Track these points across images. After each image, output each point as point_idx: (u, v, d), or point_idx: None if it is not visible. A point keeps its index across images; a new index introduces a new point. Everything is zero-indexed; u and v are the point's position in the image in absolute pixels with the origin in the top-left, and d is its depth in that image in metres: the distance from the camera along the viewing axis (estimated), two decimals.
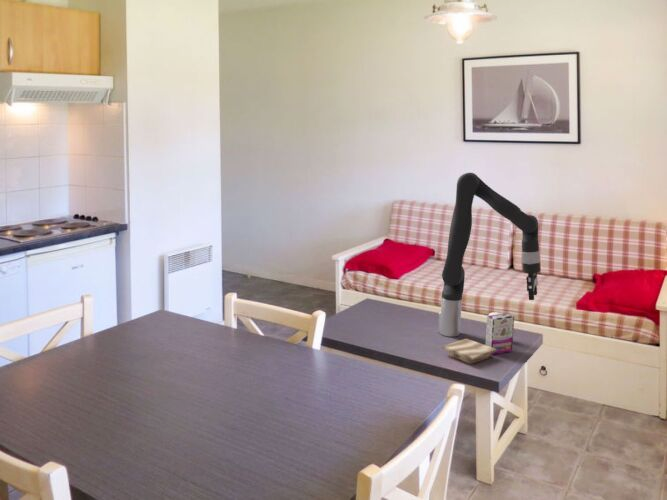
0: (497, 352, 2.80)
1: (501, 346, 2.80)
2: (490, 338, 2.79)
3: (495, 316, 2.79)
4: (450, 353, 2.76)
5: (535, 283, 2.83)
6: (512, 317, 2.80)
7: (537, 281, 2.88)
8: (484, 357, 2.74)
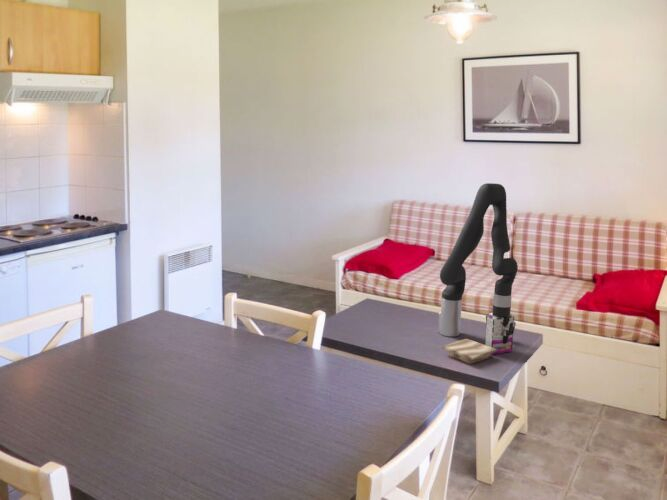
0: (497, 352, 2.80)
1: (501, 346, 2.80)
2: (490, 338, 2.79)
3: (495, 316, 2.79)
4: (450, 353, 2.76)
5: None
6: (512, 317, 2.80)
7: (503, 329, 2.78)
8: (484, 357, 2.74)
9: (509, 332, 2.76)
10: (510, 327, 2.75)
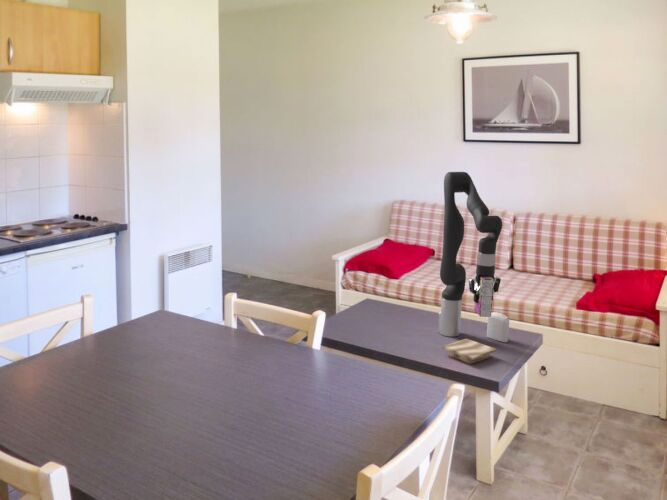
0: None
1: None
2: (489, 300, 2.68)
3: (486, 277, 2.69)
4: (450, 353, 2.76)
5: None
6: None
7: None
8: (484, 357, 2.74)
9: (497, 288, 2.73)
10: (498, 283, 2.73)
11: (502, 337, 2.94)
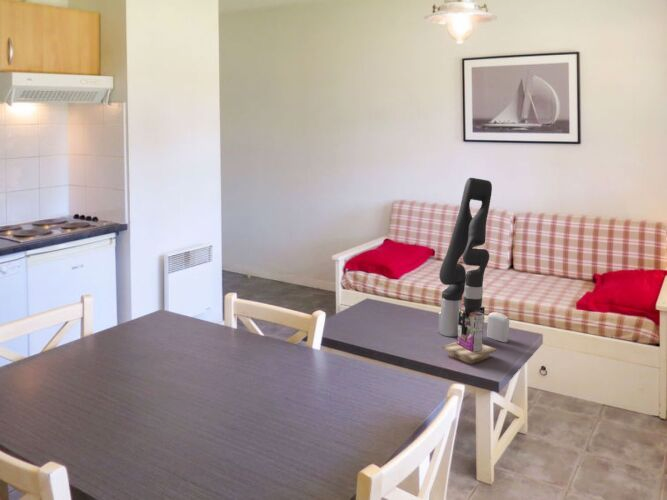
0: None
1: None
2: (480, 335, 2.70)
3: (475, 312, 2.70)
4: (450, 353, 2.76)
5: None
6: None
7: None
8: (484, 357, 2.74)
9: None
10: (483, 311, 2.76)
11: (502, 337, 2.94)
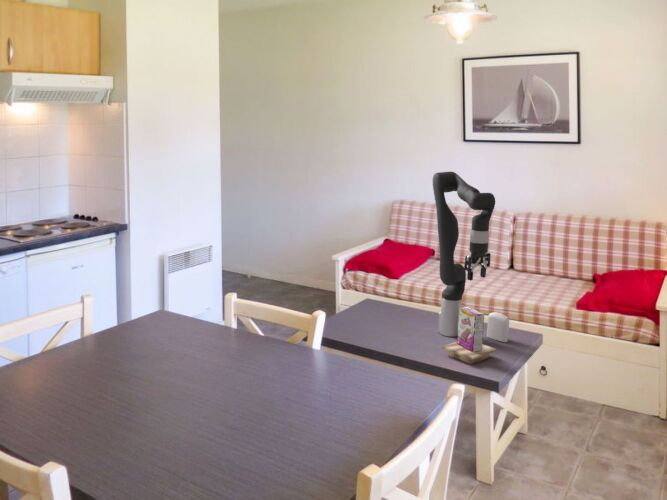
0: None
1: None
2: (480, 335, 2.70)
3: (475, 312, 2.70)
4: (450, 353, 2.76)
5: (477, 264, 2.70)
6: None
7: (485, 263, 2.73)
8: (484, 357, 2.74)
9: (489, 263, 2.76)
10: (489, 257, 2.75)
11: (502, 337, 2.94)
